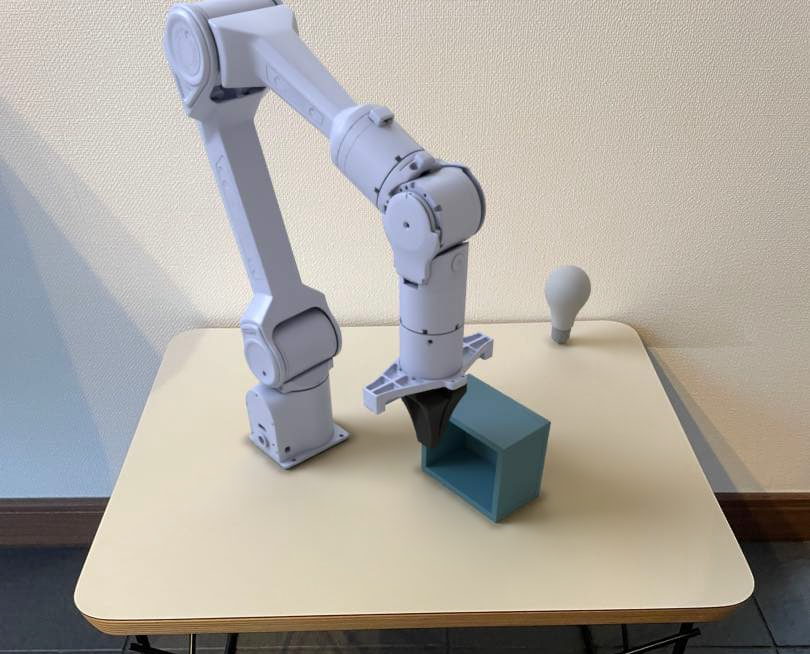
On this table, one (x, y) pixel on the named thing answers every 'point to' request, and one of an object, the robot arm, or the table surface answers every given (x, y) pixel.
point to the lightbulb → (566, 298)
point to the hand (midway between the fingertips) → (428, 442)
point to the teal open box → (490, 451)
